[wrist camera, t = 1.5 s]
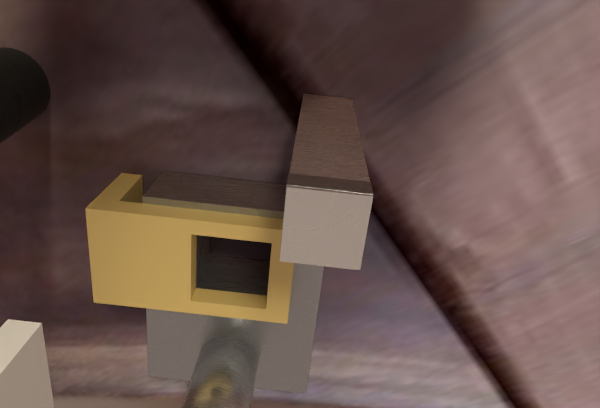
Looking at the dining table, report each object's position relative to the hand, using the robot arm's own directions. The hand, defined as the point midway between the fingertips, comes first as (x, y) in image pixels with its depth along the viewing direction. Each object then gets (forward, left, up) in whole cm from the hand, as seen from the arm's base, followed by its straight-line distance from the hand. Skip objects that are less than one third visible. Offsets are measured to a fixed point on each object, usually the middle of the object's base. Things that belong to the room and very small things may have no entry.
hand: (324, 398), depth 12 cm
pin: (0, 0, -24) cm, 24 cm away
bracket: (+9, -7, -24) cm, 27 cm away
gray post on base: (+12, -5, -24) cm, 27 cm away
